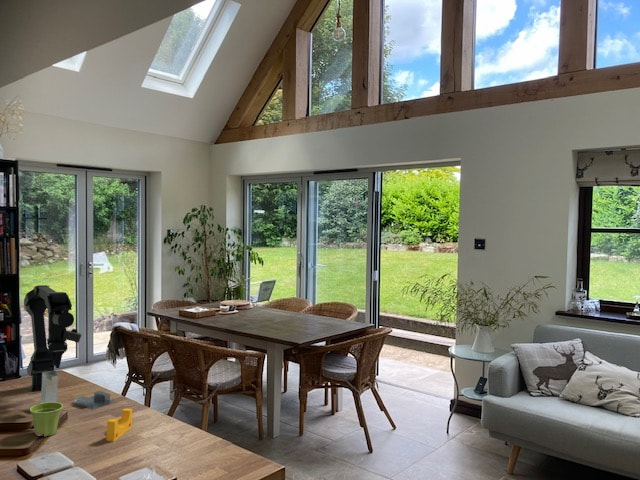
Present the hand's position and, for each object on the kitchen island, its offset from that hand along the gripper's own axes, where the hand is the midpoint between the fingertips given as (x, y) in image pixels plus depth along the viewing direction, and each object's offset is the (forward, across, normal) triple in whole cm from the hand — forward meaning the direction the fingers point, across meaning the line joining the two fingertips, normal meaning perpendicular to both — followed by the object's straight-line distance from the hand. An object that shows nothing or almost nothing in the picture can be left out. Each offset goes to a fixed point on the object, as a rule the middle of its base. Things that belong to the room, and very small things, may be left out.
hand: (57, 365), depth 194 cm
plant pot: (+15, -32, +5) cm, 36 cm away
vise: (+14, -10, -12) cm, 21 cm away
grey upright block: (+13, -13, +3) cm, 18 cm away
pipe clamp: (+17, -41, -16) cm, 47 cm away
